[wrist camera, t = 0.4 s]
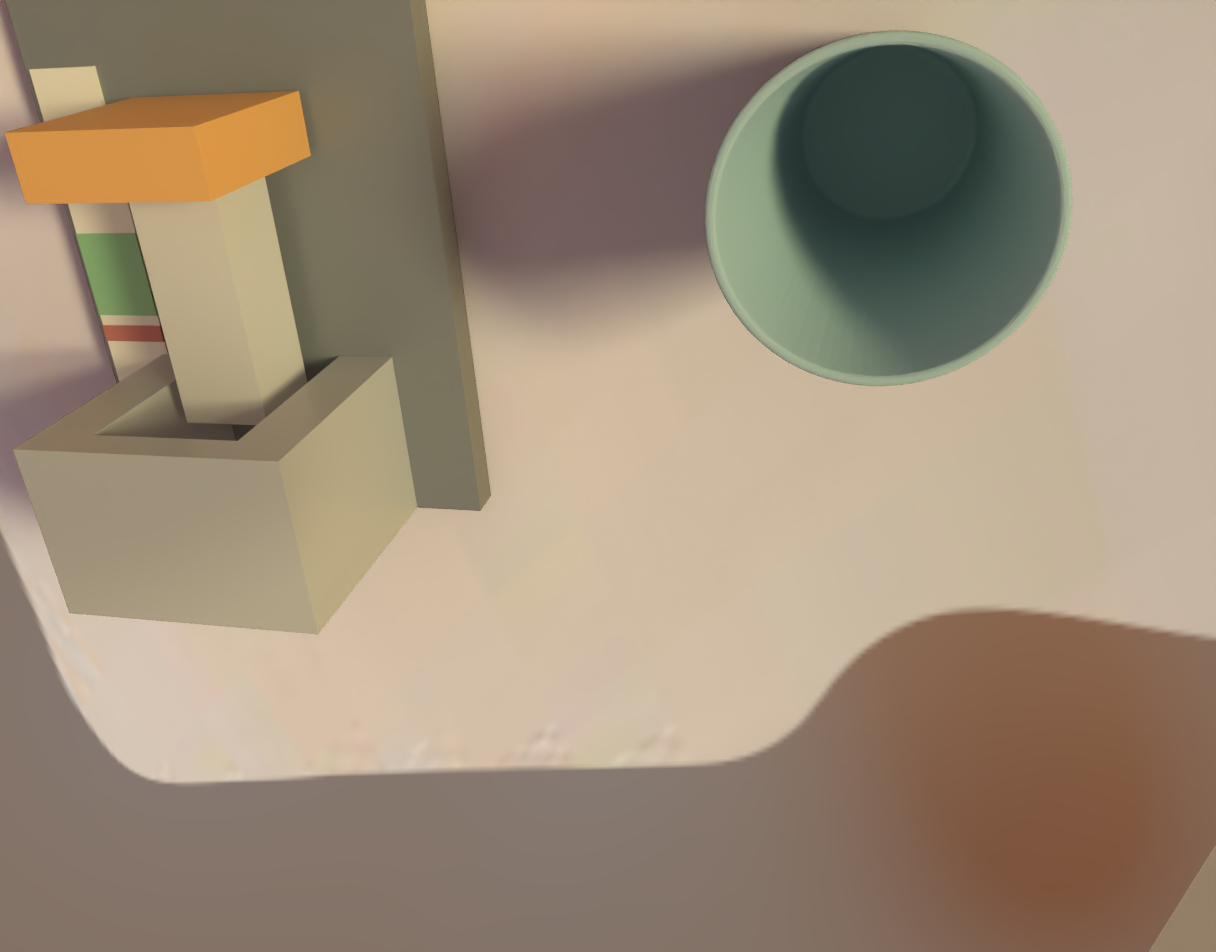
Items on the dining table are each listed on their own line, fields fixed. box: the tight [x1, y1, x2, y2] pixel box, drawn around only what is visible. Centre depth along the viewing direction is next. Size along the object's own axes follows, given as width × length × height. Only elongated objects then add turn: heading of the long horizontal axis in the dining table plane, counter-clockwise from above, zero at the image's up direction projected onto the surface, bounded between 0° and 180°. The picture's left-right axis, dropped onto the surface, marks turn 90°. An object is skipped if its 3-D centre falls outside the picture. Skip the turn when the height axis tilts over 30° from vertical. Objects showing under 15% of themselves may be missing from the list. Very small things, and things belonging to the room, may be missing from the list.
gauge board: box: [5, 0, 491, 634], centre depth 35 cm, size 19×14×9 cm
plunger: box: [5, 91, 311, 425], centre depth 36 cm, size 10×10×6 cm
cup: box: [705, 31, 1072, 386], centre depth 28 cm, size 8×8×10 cm
